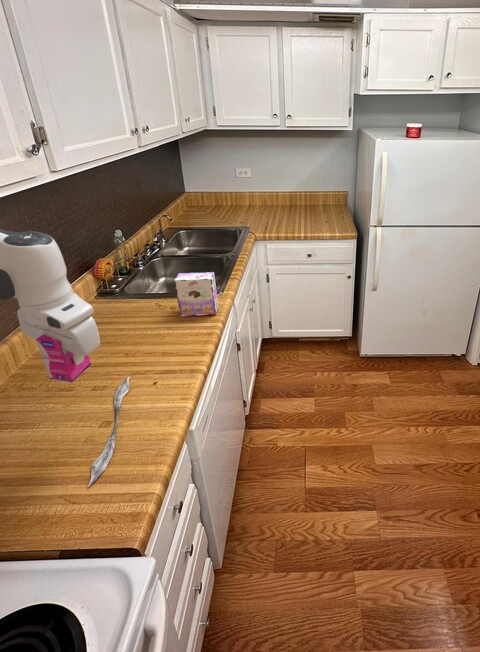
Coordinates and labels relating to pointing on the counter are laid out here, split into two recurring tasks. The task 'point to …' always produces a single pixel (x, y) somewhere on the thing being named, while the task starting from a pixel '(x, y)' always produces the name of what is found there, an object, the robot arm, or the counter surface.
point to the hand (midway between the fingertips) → (66, 357)
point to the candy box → (196, 293)
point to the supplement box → (59, 360)
